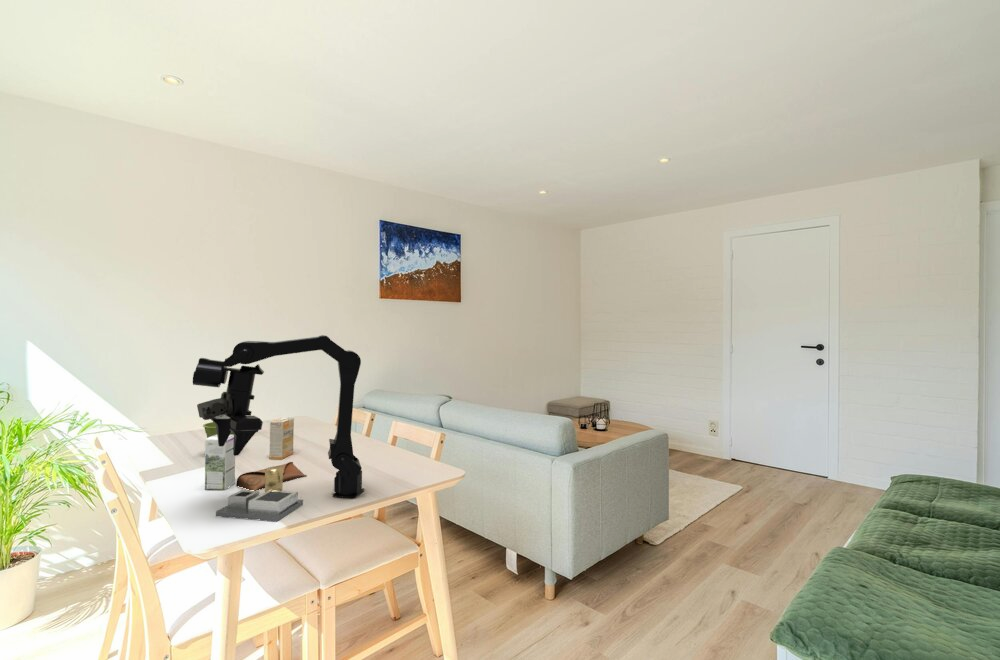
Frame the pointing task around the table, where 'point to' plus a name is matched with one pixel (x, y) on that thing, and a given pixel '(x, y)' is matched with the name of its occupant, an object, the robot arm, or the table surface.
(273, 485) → the brass fitting
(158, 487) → the table surface
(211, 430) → the plant pot
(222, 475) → the syrup box
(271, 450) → the supplement box
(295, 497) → the grey fixture block
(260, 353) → the robot arm
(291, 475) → the sunglasses case
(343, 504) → the table surface
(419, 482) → the table surface
